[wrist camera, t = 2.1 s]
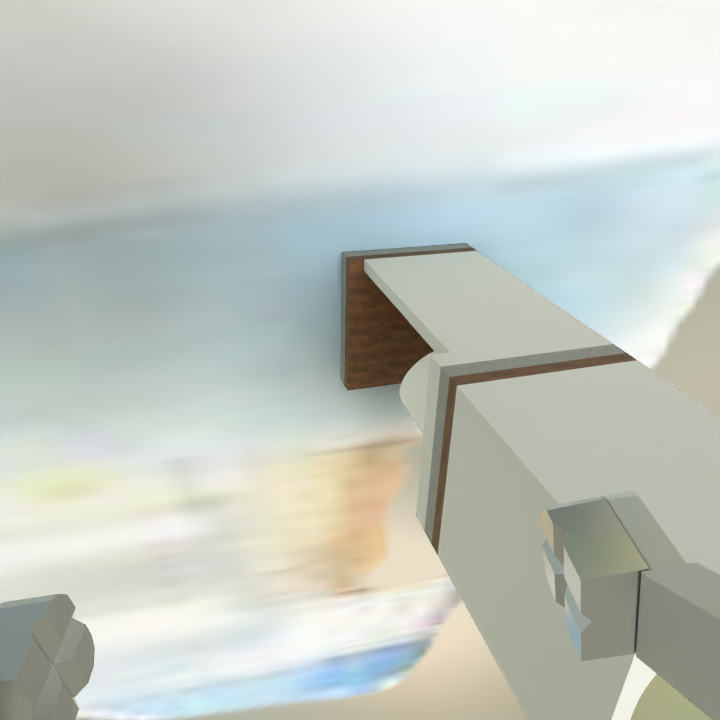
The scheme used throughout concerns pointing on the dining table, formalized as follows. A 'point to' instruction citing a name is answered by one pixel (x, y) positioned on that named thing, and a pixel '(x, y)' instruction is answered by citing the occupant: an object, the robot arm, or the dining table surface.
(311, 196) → the dining table surface
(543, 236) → the dining table surface
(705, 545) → the display case
